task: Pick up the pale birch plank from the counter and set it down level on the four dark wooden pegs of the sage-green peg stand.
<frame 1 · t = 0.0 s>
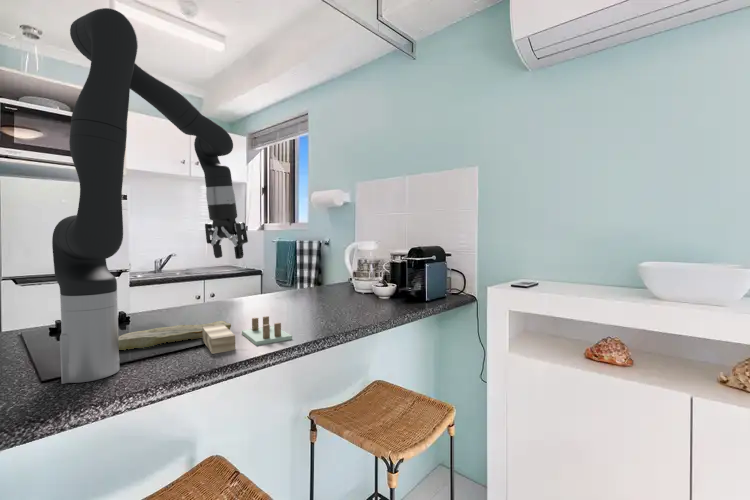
hand: (229, 258, 107), 22 cm above the countertop, tool pointing down, fingers open, 8 cm apart
peg stand: (266, 336, 104), on the countertop
stone slab: (173, 340, 102), on the countertop
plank: (218, 346, 96), on the countertop
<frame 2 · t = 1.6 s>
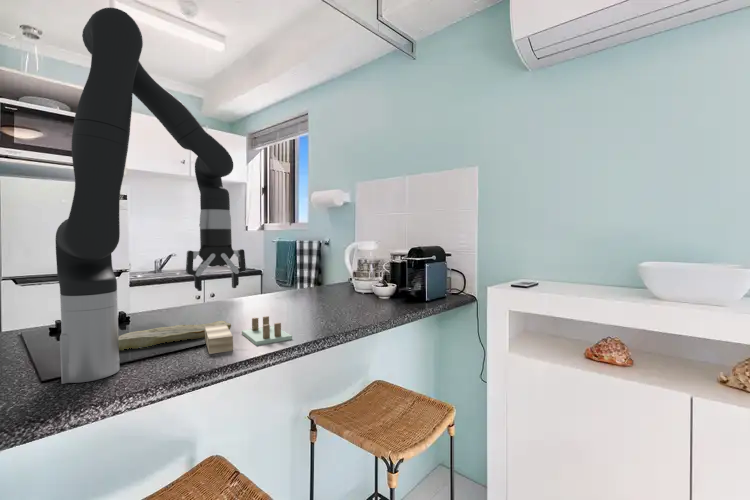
hand: (217, 289, 95), 15 cm above the countertop, tool pointing down, fingers open, 8 cm apart
nothing on the countertop moved.
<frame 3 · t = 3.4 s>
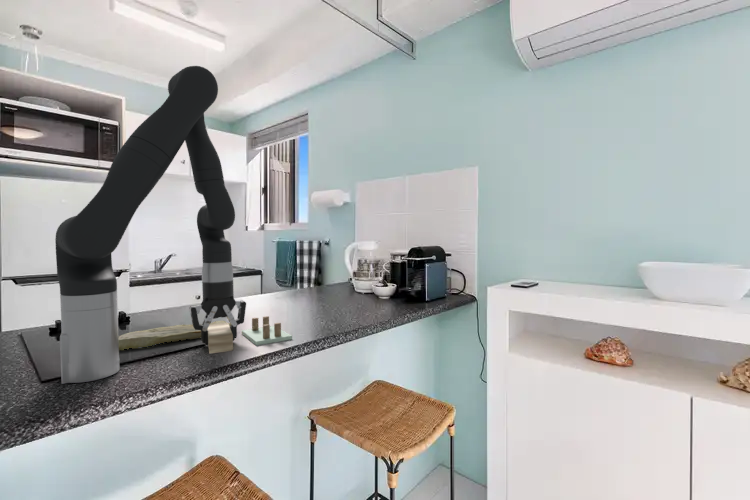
hand: (219, 341, 96), 1 cm above the countertop, tool pointing down, fingers closed on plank, 6 cm apart
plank: (219, 344, 96), on the countertop, touching gripper
everything else where it was.
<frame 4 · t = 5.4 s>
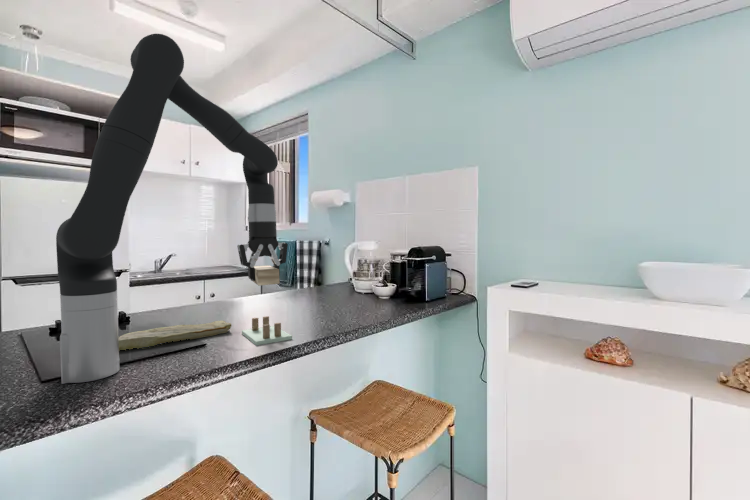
hand: (264, 279, 103), 16 cm above the countertop, tool pointing down, fingers closed on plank, 6 cm apart
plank: (264, 281, 103), point 16 cm above the countertop, touching gripper
everything else where it was.
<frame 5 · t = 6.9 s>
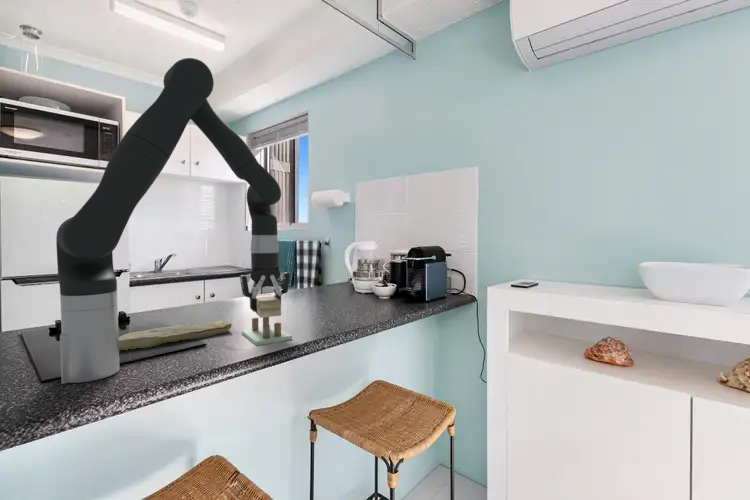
hand: (266, 309, 103), 8 cm above the countertop, tool pointing down, fingers closed on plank, 6 cm apart
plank: (265, 311, 104), point 7 cm above the countertop, touching gripper
everything else where it was.
when the fingers open (6 cm above the countertop, at t = 7.8 s): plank stays where it is, resting on peg stand.
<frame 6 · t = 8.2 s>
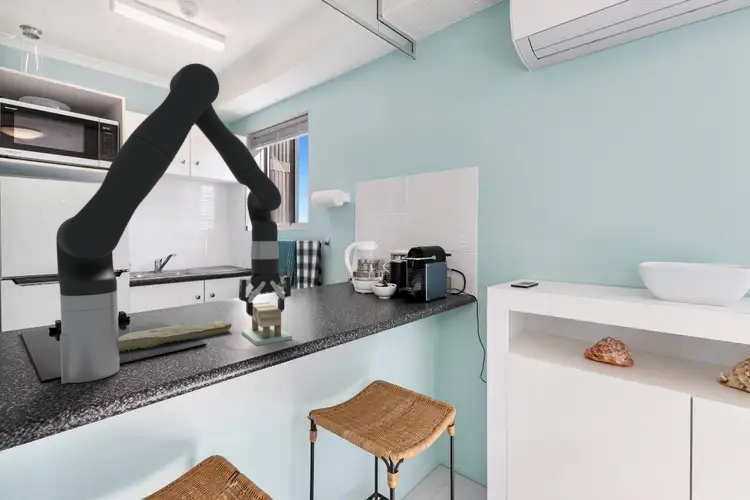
hand: (265, 313, 103), 7 cm above the countertop, tool pointing down, fingers open, 8 cm apart
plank: (265, 320, 104), point 4 cm above the countertop, touching peg stand
everything else where it was.
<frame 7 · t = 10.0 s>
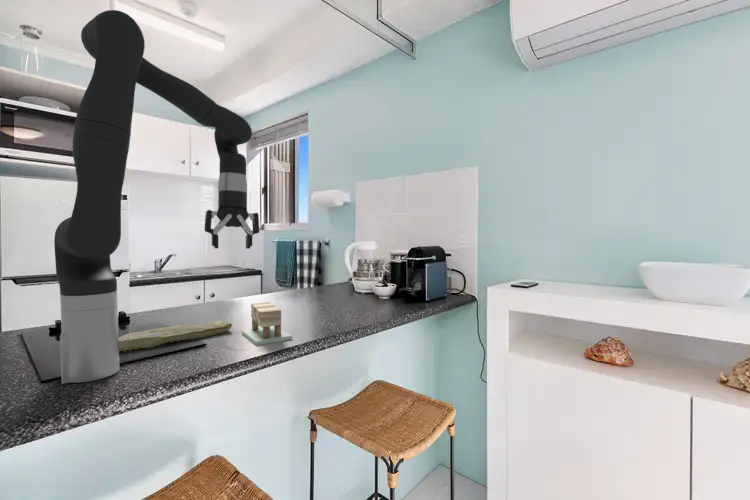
hand: (232, 248, 102), 25 cm above the countertop, tool pointing down, fingers open, 8 cm apart
nothing on the countertop moved.
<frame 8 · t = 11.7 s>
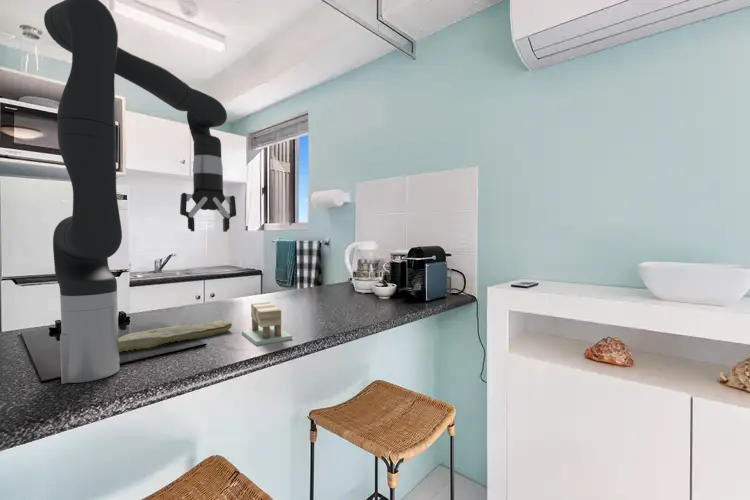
hand: (209, 231, 102), 30 cm above the countertop, tool pointing down, fingers open, 8 cm apart
nothing on the countertop moved.
at the end: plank 0.1 cm off-centre on the peg stand, point 4.5 cm above the peg stand's base; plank tilted 0°; the gripper is holding nothing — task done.
